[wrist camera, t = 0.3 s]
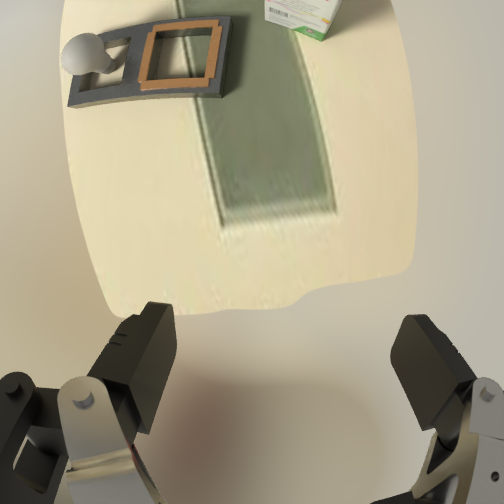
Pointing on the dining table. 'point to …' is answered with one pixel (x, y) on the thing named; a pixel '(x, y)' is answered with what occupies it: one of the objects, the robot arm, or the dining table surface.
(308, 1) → the ink box
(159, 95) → the rail
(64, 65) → the lightbulb
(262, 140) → the dining table surface
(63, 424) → the robot arm
